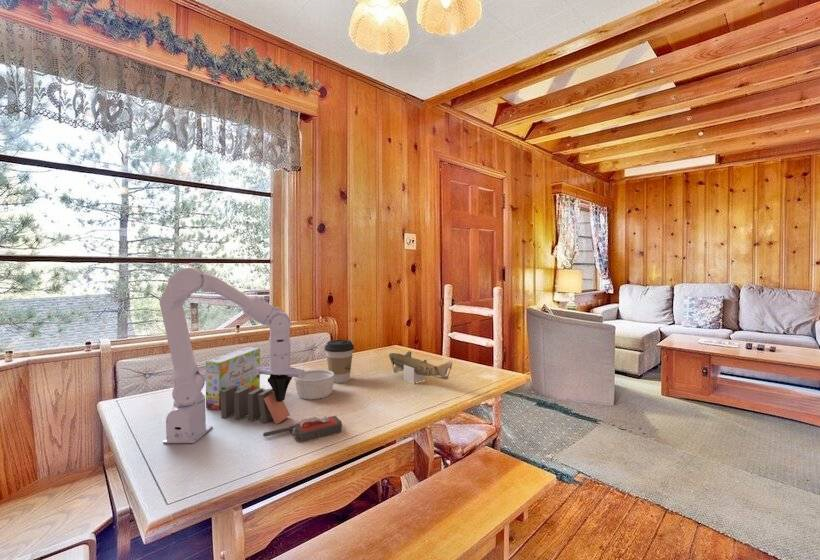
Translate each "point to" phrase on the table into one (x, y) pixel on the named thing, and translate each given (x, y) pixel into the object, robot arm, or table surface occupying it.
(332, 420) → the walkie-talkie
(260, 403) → the domino
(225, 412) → the domino
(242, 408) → the domino
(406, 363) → the wood carving
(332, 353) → the coffee cup
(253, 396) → the domino
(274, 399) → the red domino
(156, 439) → the table surface
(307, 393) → the ramekin
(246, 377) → the snack box
